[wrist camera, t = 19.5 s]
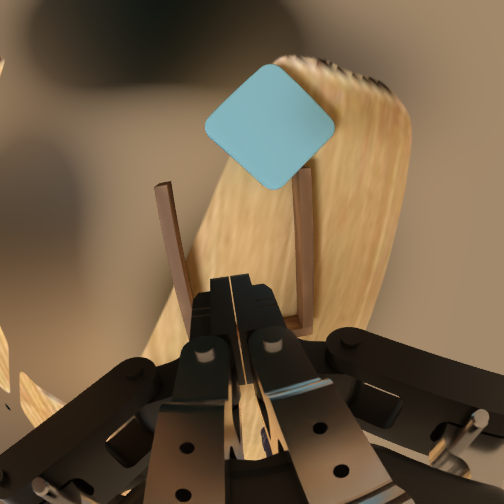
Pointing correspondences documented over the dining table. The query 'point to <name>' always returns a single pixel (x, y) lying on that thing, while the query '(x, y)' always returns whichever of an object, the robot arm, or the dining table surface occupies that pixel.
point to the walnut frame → (303, 247)
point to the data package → (270, 126)
